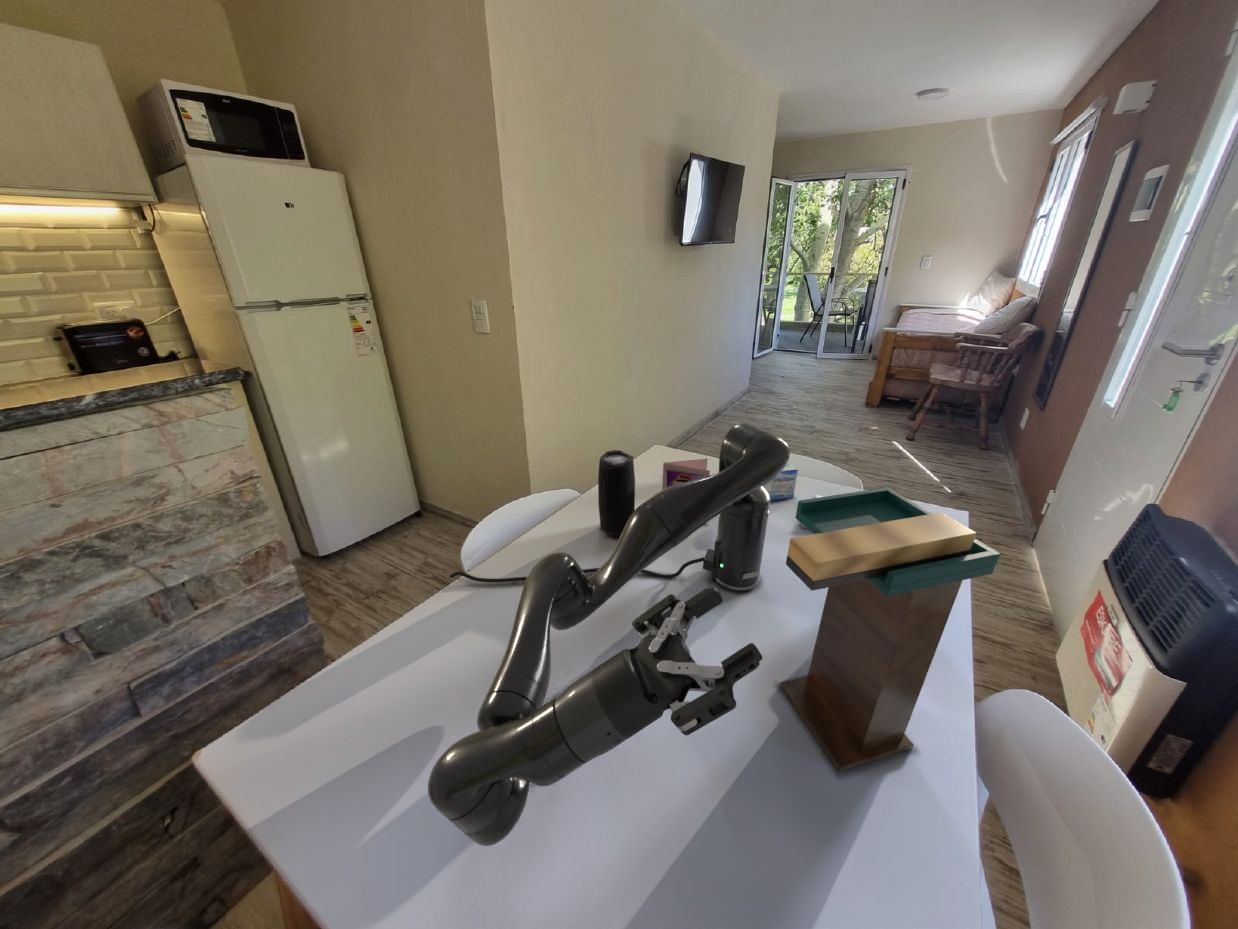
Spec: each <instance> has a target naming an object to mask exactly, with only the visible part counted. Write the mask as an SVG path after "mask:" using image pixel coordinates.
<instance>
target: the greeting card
mask: <svg viewBox="0 0 1238 929" xmlns="http://www.w3.org/2000/svg"><path fill="white" fill-rule="evenodd" d="M662 463H663V465H662V484H661V485H662V486H661V491H662V490H663V489H665V488H668V487H670V486H673V485H676V484H680V483H684V482H689V481H693V480H698V479H702V478H706V477H710V473H711V472H710V470H708V458H700V459H699V458H698V459H689V460H678V461H677V460H675V461H666V462H662ZM705 525H706V523H705V524H704V525H703V526H705Z"/></svg>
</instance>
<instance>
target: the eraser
mask: <svg viewBox="0 0 1238 929" xmlns="http://www.w3.org/2000/svg"><path fill="white" fill-rule="evenodd" d="M976 536H977V532H976V531H974V530H973V529H970V528H969V527H967V526H966V525H964V524H961V523H960V522H958V521H956V520H955V519H953V518H952V517H949V516H948V515H946V514H944V513H942V512H934V513H932V514H928V515H922V516H916V517H911V518H905V519H899V520H893V521H888V522H882V523H876V524H870V525H864V526H859V527H853V528H847V529H841V530H836V531H830V532H824V533H818V534H813V533H812V534H808V535H801V536H796V537H791V538H790V539H789V544H788V550H787V555H786V561H785V565H786V566H787V567H788V568H789V569H790V570H791V572H793V573H794V574H795V576H796V577H798V579H799V580H801V582H802V583H803V584H804V585H805V586H806V587H807V588H808V589H809V590H810V591H811V592H813V591H818V590H822V589H823V590H824V589H828V587H833V586H837V585H842V584H847V583H852V582H857V581H862V580H866V579H871V578H876V577H881V576H886V575H887V573H888V571H893V570H898V569H902V568H907V567H912V566H917V565H922V564H927V563H932V562H937V561H942V560H947V559H952V558H956V557H961V556H966V555H969V552H970V549H971V547H972V544H973V542H974V539H976Z"/></svg>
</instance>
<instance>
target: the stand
mask: <svg viewBox="0 0 1238 929" xmlns="http://www.w3.org/2000/svg"><path fill="white" fill-rule="evenodd" d="M963 581H964V580H961V581H957V582H952V583H948V584H943V585H939V586H934V587H929V588H925V589H920V590H916V591H911V592H907V593H902V594H898V595H893V596H888V597H887V596H886V595H885V594H884V593H882V592H881V591H880V590H879V589H878V588H877V587H875V586H874V585H873V584H872V583H871V582H869V581H868V580H867V579H866V580H862V581H857V582H852V583H847V584H842V585H837V586H833V587H828V588H827V592H826V596H825V600H824V606H823V609H822V612H821V617H820V622H819V626H818V630H817V634H816V639H815V642H814V648H813V651H812V656H811V661H810V665H809V668H808V673H807V675H804V676H800V677H796V678H793V679H788V680H784V681H781V682H780V683H779V688H780V689H781V691H782V692H783V694H784V695H785V697H786V698H787V700H788V701H789V703H790V704H791V705H792V707H793V708H794V709H795V711H796V712H797V714H798V715H799V717H800V718H801V720H802V721H803V723H804V724H805V725H806V727H807V728H808V730H809V732H810V733H811V734H812V736H813V737H814V738H815V740H816V742H817V743H818V744H819V746H820V748H821V749H822V750H823V752H824V753H825V755H827V757H828V759H829V760H830V762H831V764H832V765H833V766H834V767H835V769H836V770H837V772H838V773H840V772H844V771H847V770H850V769H854V768H856V767H859V766H863V765H866V764H870V763H872V762H875V761H878V760H880V759H885V758H887V757H891V756H894V755H897V754H901V753H904V752H906V751H910V750H912V749H913V747H914V746H915V745H914V743H913V741H912V740H911V739H910V738H909V737H908V736H907V734H906V731H907V728H908V726H909V723H910V721H911V717H912V716H913V712H914V710H915V707H916V705H917V701H918V699H919V697H920V694H921V691H922V688H923V686H924V684H925V680H926V679H927V675H928V673H929V670H930V668H931V665H932V663H933V659H934V658H935V657H934V656H935V654H936V651H937V649H938V647H939V643H940V641H941V638H942V636H943V633H944V630H945V628H946V625H947V622H948V620H949V617H950V615H951V612H952V609H953V607H954V604H955V601H956V599H957V596H958V594H959V591H960V589H961V586H962V583H963Z"/></svg>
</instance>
